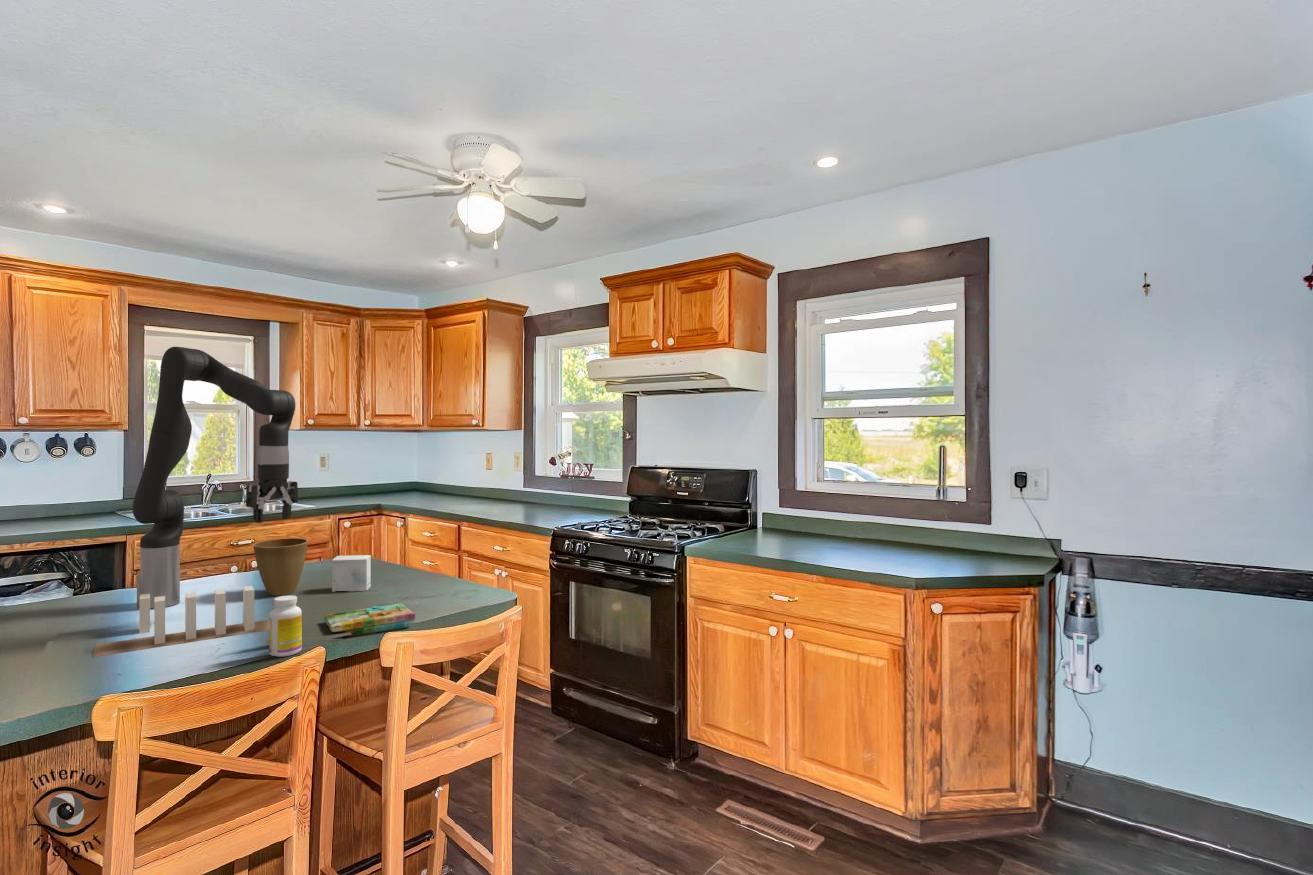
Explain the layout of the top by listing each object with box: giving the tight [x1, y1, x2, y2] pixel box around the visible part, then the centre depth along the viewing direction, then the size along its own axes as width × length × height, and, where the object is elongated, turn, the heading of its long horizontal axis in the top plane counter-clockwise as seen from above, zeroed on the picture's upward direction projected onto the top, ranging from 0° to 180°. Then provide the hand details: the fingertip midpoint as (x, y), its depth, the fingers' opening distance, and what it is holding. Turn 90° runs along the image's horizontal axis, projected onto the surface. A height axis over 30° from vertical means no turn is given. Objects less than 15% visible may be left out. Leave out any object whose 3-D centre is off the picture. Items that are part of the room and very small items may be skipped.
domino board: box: [91, 619, 269, 658], centre depth 161 cm, size 36×10×2 cm, turn 127°
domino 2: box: [153, 596, 166, 644], centre depth 158 cm, size 2×5×10 cm, turn 36°
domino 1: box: [139, 594, 151, 634], centre depth 165 cm, size 2×5×10 cm, turn 36°
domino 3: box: [184, 592, 197, 640], centre depth 161 cm, size 2×5×10 cm, turn 37°
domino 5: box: [242, 585, 255, 631], centre depth 168 cm, size 2×5×10 cm, turn 36°
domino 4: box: [214, 588, 227, 635], centre depth 165 cm, size 2×5×10 cm, turn 36°
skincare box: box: [331, 554, 372, 593], centre depth 214 cm, size 10×6×10 cm, turn 102°
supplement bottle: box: [268, 595, 303, 658], centre depth 155 cm, size 7×7×13 cm
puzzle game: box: [323, 603, 416, 638], centre depth 174 cm, size 12×5×20 cm
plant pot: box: [252, 537, 309, 597], centre depth 208 cm, size 15×15×16 cm
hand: (272, 520), depth 184 cm, fingers open, 8 cm apart
